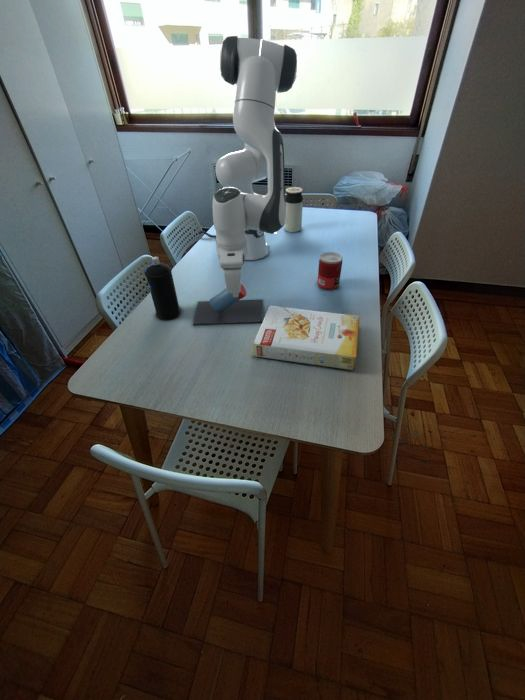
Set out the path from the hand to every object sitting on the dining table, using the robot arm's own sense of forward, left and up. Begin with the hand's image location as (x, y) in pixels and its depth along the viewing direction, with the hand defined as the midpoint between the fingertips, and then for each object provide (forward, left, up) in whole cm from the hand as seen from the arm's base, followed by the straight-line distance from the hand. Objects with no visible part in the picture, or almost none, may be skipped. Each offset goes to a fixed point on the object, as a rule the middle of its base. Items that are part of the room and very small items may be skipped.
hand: (236, 290), depth 111 cm
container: (-5, -5, -6) cm, 9 cm away
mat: (-2, -2, -9) cm, 9 cm away
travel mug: (-31, +65, -9) cm, 73 cm away
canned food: (+12, +34, -9) cm, 37 cm away
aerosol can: (-17, -16, -9) cm, 25 cm away
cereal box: (+27, +3, -9) cm, 28 cm away
